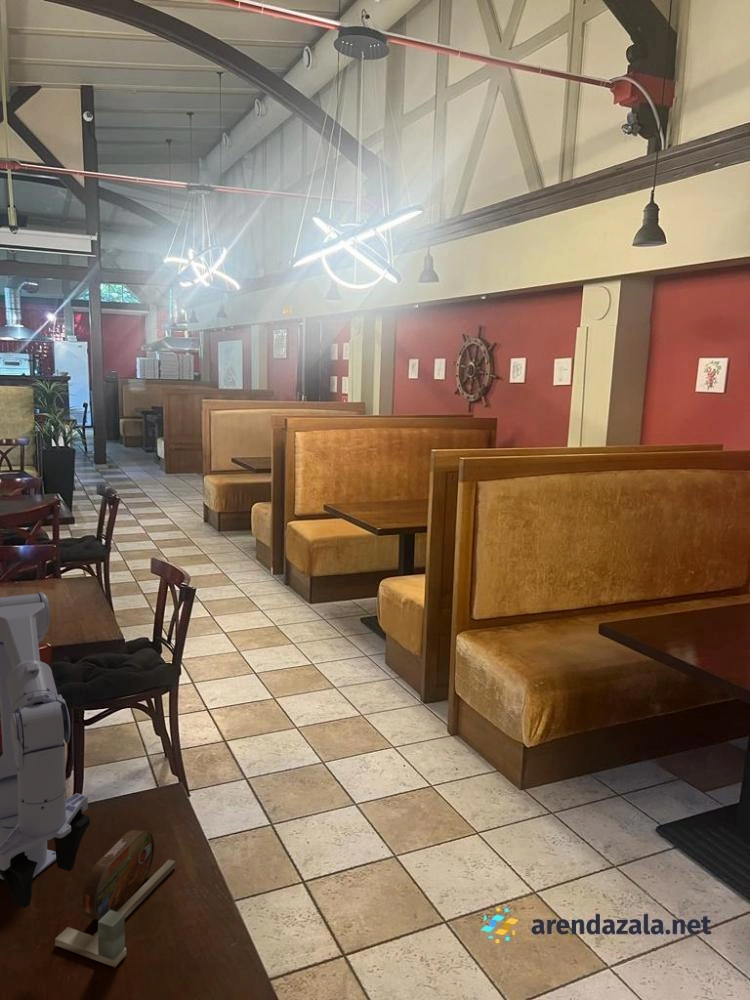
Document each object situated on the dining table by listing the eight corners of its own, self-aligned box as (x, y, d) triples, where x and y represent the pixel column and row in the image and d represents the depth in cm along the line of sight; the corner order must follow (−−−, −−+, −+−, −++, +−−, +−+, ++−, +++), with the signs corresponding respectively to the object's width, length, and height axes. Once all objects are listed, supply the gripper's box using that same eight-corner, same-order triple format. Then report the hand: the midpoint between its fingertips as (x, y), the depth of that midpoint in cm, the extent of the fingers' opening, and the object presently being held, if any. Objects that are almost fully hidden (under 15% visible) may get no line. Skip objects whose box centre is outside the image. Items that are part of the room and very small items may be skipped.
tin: (97, 935, 102) (97, 881, 101) (78, 930, 103) (77, 877, 101) (156, 868, 116) (156, 821, 115) (139, 864, 117) (139, 817, 116)
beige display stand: (55, 945, 99) (54, 906, 98) (146, 858, 118) (147, 824, 117) (114, 967, 96) (114, 927, 95) (199, 874, 115) (199, 840, 114)
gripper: (21, 830, 86) (24, 931, 88) (105, 771, 100) (105, 860, 102) (-23, 816, 89) (-19, 914, 91) (64, 760, 102) (66, 848, 104)
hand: (44, 885), depth 96 cm, fingers open, 7 cm apart
